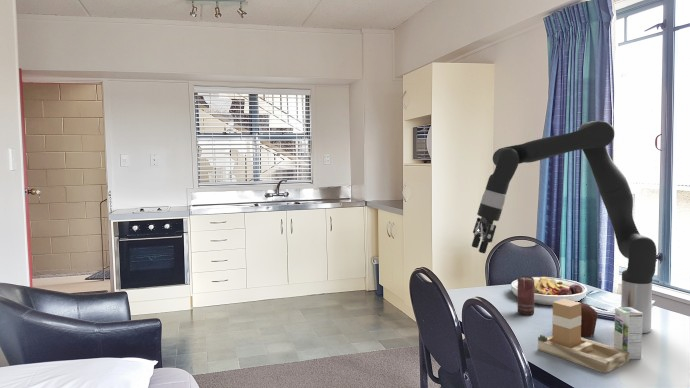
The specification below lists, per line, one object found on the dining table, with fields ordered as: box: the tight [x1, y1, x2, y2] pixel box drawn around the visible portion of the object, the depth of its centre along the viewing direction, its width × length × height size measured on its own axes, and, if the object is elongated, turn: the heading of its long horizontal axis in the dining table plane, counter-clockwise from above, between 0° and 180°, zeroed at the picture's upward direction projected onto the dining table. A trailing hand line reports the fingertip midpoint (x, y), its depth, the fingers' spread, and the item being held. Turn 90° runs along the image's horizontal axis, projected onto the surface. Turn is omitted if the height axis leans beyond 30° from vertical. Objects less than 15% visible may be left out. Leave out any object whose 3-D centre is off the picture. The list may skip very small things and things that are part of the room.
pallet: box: [537, 334, 630, 374], centre depth 161 cm, size 13×22×5 cm, turn 34°
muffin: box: [580, 302, 599, 338], centre depth 180 cm, size 12×11×10 cm
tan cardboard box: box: [551, 299, 582, 348], centre depth 165 cm, size 6×6×15 cm
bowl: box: [510, 276, 588, 306], centre depth 223 cm, size 30×30×8 cm
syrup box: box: [613, 307, 643, 360], centre depth 159 cm, size 6×6×14 cm
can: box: [517, 276, 535, 317], centre depth 201 cm, size 6×6×14 cm
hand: (478, 249), depth 180 cm, fingers open, 8 cm apart
